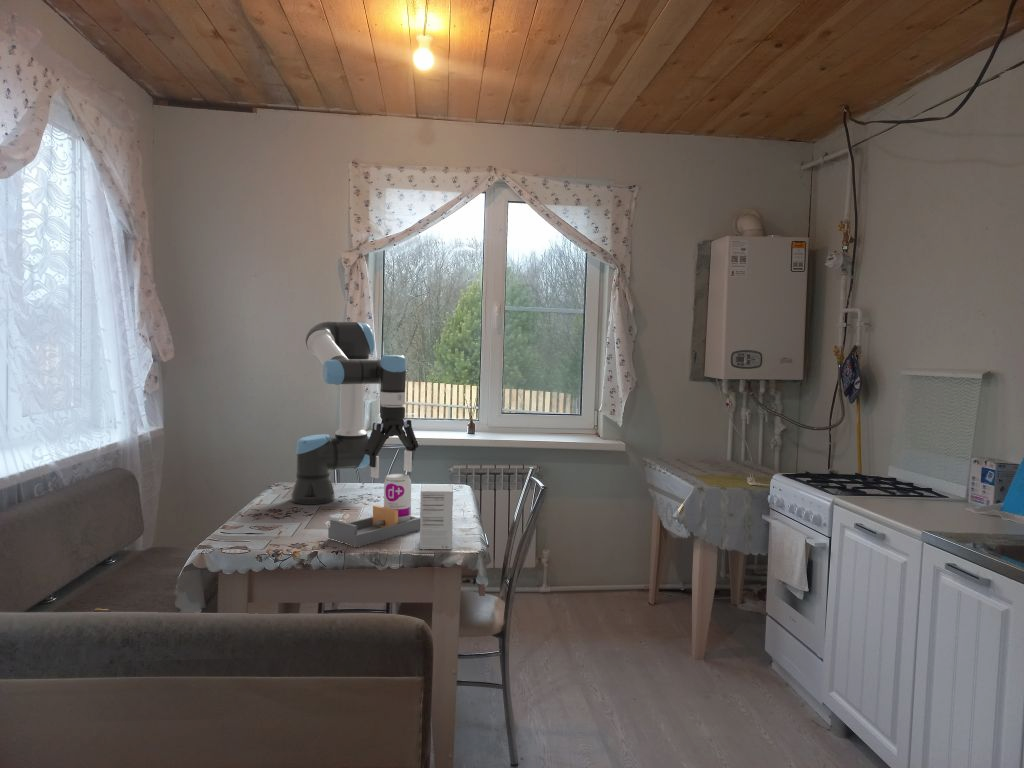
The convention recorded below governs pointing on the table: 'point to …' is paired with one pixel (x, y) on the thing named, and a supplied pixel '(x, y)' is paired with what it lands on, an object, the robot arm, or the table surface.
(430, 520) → the supplement box
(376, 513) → the pusher
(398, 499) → the supplement can
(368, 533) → the pusher lane
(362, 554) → the table surface
